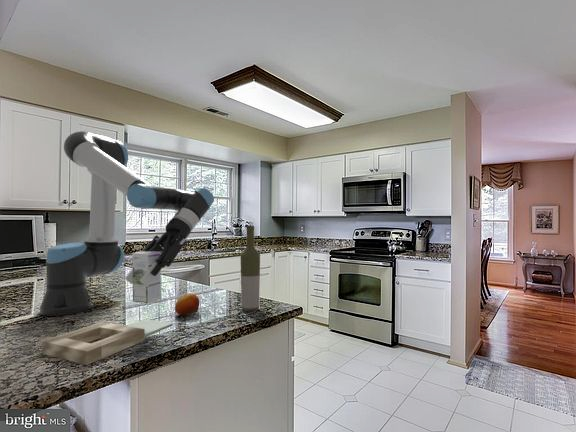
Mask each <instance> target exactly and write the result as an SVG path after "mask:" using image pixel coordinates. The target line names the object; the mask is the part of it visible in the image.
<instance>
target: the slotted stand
mask: <svg viewBox="0 0 576 432" xmlns="http://www.w3.org/2000/svg"><path fill="white" fill-rule="evenodd" d="M145 338H146V336H145V329H140V328H135V327H129V326H127V325H122V324H117V323H111V322H105V321H101V322H98V323H94V324H92V325H89V326H85V327H82V328H78V329H76V330H74V331H73V330H72V331H70V332H66V333H63V334H60V335H57V336H54V337H50V338H48V339H44V340H41V354H42V355H47V356H50V357H53V358H57V359H62V360H66V361H70V362H74V363H78V364H80V365H81V364H82V365H85V366H88V365H91V364H92V363H95V362H97V361H99V360H103V359H105V358H108V357H110V356H111V355H114V354H116V353H119V352H121V351H124V350H126V349H128V348H131V347H134V346H135V345H138V344H139V343H142V342H144V341H145ZM95 340H98V341H95ZM93 341H95V342H93ZM91 342H92V343H91Z"/></svg>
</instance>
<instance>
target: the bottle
mask: <svg viewBox="0 0 576 432" xmlns="http://www.w3.org/2000/svg"><path fill="white" fill-rule="evenodd" d="M245 227H246V228H245V229H246V247H245V249H243V250H242V251H241V252H240V294H241V295H240V298H241V299H240V300H241V302H240V303H241V309H242V311H243V312H244V311H245V312H255V311H257V310H259V307H260V287H261V286H260V284H261V283H260V281H261V280H260V279H261V277H260V276H261V254H260V253H259V251H258V250H257V249H256V247H255V226H254V225H246V226H245Z"/></svg>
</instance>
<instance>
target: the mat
mask: <svg viewBox="0 0 576 432" xmlns="http://www.w3.org/2000/svg"><path fill="white" fill-rule="evenodd" d="M170 325H171V326H173V322H167V321H162V320H161V321H160V320H155V319H148V318H147V319H146V318H145V319H142V320H139V321H136V322H133V323H130V324H128V325H126V326H129V327H135V328H140V329H145V337H147V336H149V335H151V334H154V333H156V332H158V331H161V330H164V329H166V328H168V327H167V326H169V327H171V326H170ZM165 327H166V328H165ZM163 328H164V329H163Z"/></svg>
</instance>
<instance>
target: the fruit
mask: <svg viewBox="0 0 576 432" xmlns="http://www.w3.org/2000/svg"><path fill="white" fill-rule="evenodd" d="M199 307H200V299H199V296H197V294H195V293H186V294H184V295H182V296H181V297H179V298H178V299H177V300H176V302H175V307H174V310H175V312H176V313H177V314H178V315H179V316H181V317H187V316H188V317H189V316H193V315H194V314H195V313H198V314H200V312H199V309H200V308H199Z"/></svg>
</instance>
